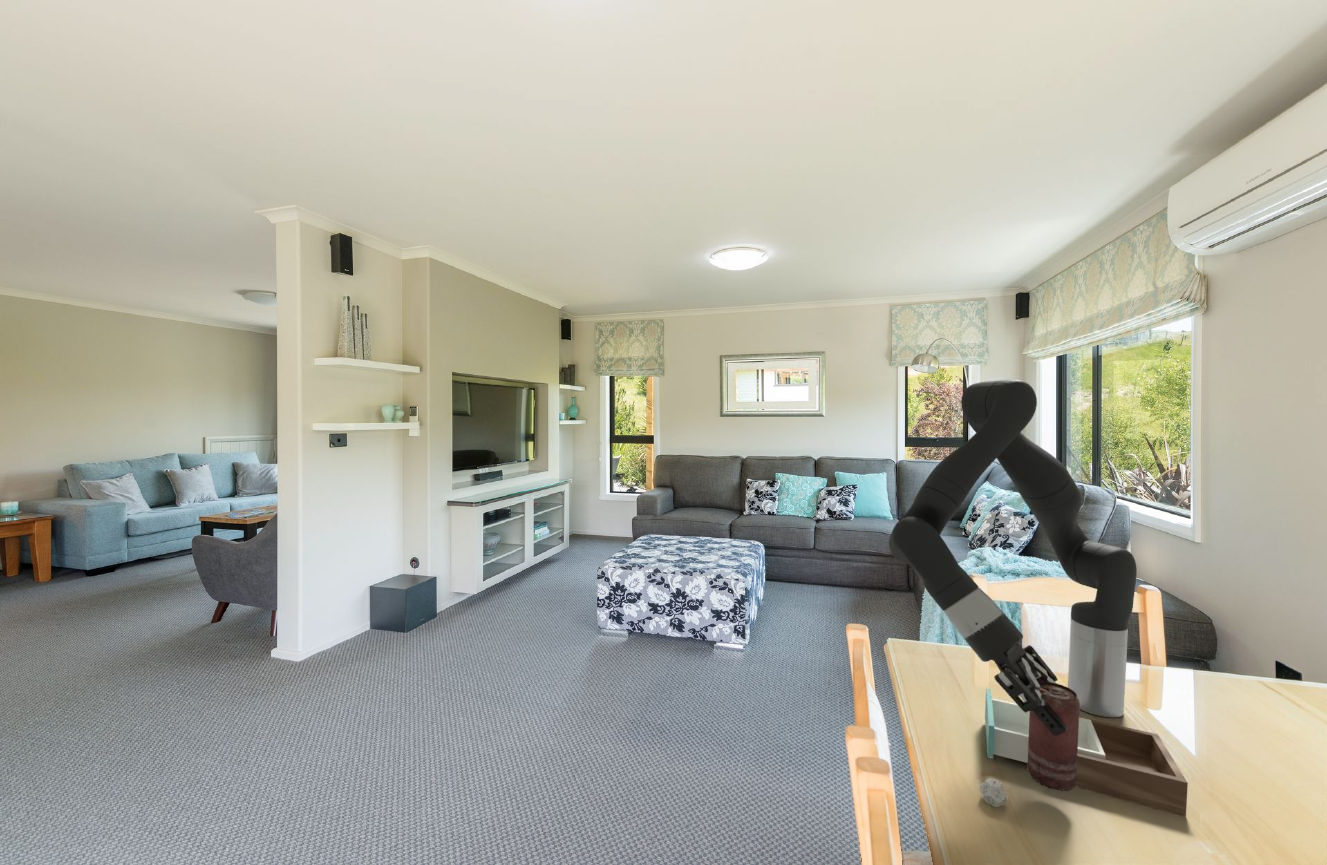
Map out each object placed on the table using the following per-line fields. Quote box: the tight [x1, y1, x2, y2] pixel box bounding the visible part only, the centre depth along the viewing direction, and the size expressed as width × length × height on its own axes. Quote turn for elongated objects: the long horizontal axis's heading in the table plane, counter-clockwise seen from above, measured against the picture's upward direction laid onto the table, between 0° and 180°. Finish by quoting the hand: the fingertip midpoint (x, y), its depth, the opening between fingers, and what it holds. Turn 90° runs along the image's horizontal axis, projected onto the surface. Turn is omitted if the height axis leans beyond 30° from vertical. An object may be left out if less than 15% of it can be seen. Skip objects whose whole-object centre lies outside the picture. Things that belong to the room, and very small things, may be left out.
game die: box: [979, 778, 1009, 808], centre depth 86 cm, size 4×4×3 cm
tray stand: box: [1074, 716, 1188, 817], centre depth 95 cm, size 15×17×5 cm
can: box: [1026, 682, 1080, 793], centre depth 86 cm, size 6×6×14 cm
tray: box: [984, 688, 1105, 763], centre depth 99 cm, size 15×16×5 cm
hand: (1066, 723), depth 85 cm, fingers closed on can, 6 cm apart
